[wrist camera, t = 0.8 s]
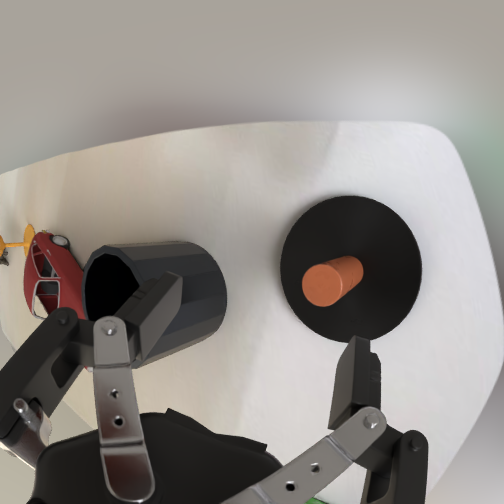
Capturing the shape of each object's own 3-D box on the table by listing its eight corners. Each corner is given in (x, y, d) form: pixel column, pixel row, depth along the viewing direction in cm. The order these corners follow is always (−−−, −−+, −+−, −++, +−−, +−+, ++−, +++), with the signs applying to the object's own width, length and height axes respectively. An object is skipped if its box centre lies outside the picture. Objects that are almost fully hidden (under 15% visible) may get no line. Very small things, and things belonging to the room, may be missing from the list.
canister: (230, 247, 32) (153, 253, 23) (225, 351, 33) (155, 387, 24) (153, 238, 38) (80, 241, 29) (152, 326, 39) (85, 346, 30)
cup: (35, 268, 59) (-26, 274, 45) (24, 257, 63) (-32, 262, 49) (37, 228, 57) (-27, 230, 43) (25, 221, 62) (-32, 222, 48)
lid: (427, 202, 23) (433, 188, 15) (408, 349, 24) (401, 396, 16) (289, 193, 29) (239, 180, 21) (279, 325, 30) (229, 354, 22)
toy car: (114, 368, 45) (63, 386, 36) (51, 273, 54) (8, 278, 46) (131, 320, 41) (70, 335, 32) (61, 226, 51) (14, 227, 42)
